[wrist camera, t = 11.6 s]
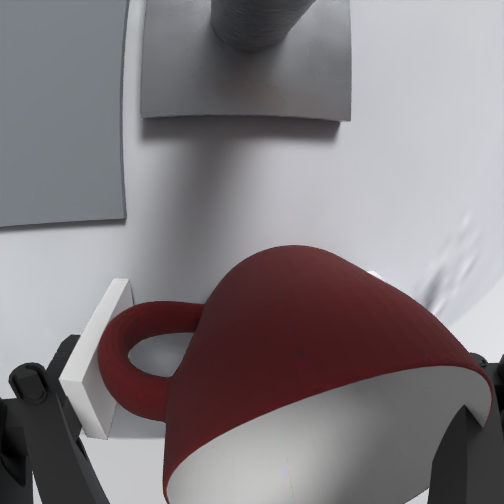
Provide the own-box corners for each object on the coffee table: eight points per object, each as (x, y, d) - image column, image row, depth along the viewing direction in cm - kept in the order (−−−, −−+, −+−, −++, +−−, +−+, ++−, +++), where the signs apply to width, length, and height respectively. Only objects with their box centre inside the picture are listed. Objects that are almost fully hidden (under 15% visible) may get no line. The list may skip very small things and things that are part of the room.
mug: (150, 361, 16) (115, 537, 6) (127, 208, 13) (-19, 361, 3) (345, 351, 17) (421, 505, 7) (368, 206, 14) (543, 324, 4)
